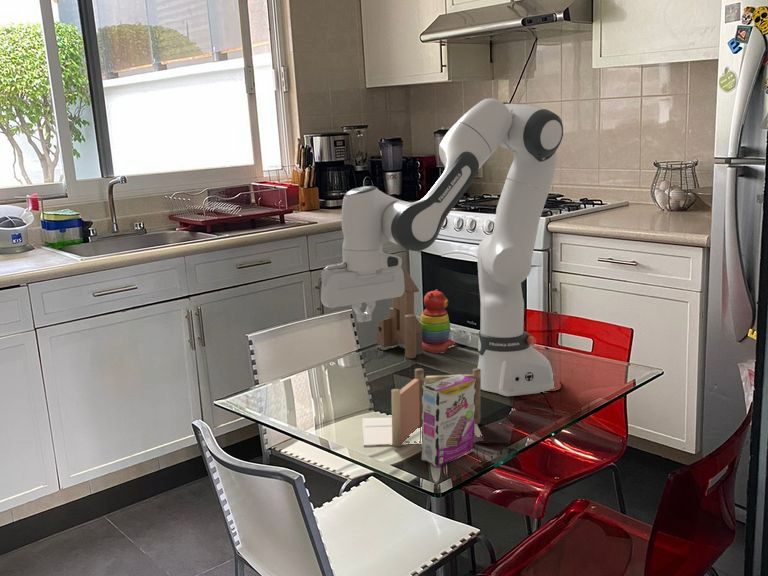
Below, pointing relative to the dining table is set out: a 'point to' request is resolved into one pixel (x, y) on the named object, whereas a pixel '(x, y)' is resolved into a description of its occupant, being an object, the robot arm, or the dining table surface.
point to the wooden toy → (402, 322)
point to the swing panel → (405, 411)
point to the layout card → (386, 431)
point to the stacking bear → (435, 323)
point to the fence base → (429, 379)
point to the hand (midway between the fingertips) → (364, 321)
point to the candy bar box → (447, 419)
